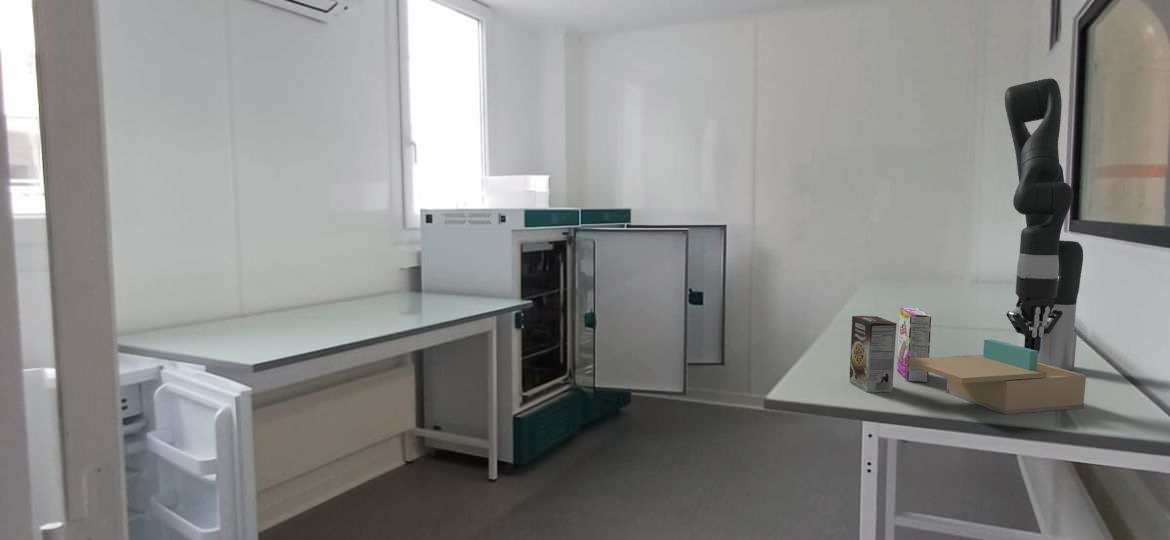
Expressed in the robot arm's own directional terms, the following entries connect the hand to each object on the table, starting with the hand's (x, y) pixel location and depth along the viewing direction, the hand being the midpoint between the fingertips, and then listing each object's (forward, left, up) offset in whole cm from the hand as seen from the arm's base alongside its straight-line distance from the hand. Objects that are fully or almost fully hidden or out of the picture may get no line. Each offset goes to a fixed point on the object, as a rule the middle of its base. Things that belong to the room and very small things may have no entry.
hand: (1031, 353), depth 150 cm
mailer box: (+5, 0, -10) cm, 11 cm away
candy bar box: (+13, -22, -10) cm, 27 cm away
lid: (+15, 0, -3) cm, 16 cm away
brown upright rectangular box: (+29, -16, -10) cm, 34 cm away
